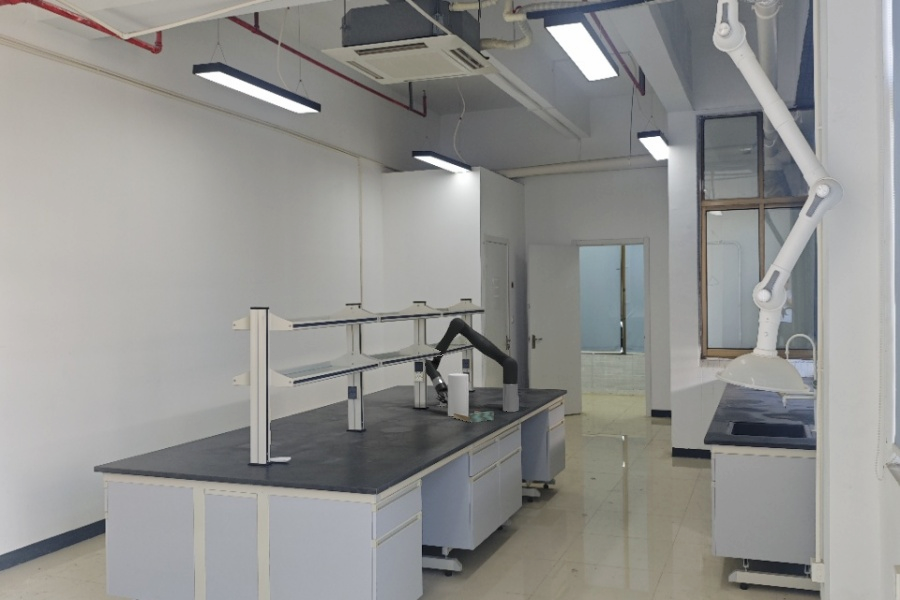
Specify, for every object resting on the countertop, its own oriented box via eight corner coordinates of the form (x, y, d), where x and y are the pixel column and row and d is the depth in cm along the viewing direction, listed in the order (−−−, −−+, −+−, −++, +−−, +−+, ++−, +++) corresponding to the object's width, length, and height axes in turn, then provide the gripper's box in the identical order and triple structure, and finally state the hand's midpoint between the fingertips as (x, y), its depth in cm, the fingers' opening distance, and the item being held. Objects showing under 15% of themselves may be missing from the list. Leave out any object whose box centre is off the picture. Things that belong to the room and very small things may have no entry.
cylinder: (444, 414, 474) (444, 373, 474) (462, 413, 479) (463, 373, 479) (453, 417, 463) (453, 376, 462) (471, 416, 468) (472, 375, 468)
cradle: (475, 416, 470) (475, 407, 470) (493, 420, 456) (493, 411, 455) (453, 418, 461) (453, 410, 461) (471, 422, 446) (471, 414, 446)
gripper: (433, 382, 481) (444, 404, 471) (451, 381, 489) (462, 403, 479) (428, 390, 486) (439, 412, 476) (446, 388, 493) (457, 410, 483)
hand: (451, 407), depth 477 cm, fingers closed
